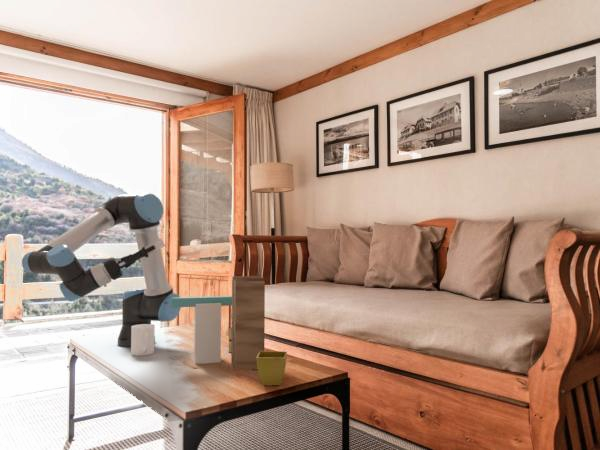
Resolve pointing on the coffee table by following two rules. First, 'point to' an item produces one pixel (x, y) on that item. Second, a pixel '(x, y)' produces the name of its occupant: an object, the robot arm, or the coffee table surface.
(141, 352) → the mug
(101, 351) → the coffee table surface
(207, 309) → the tall white pillar
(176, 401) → the coffee table surface
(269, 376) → the flower pot
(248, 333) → the stand
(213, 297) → the block
